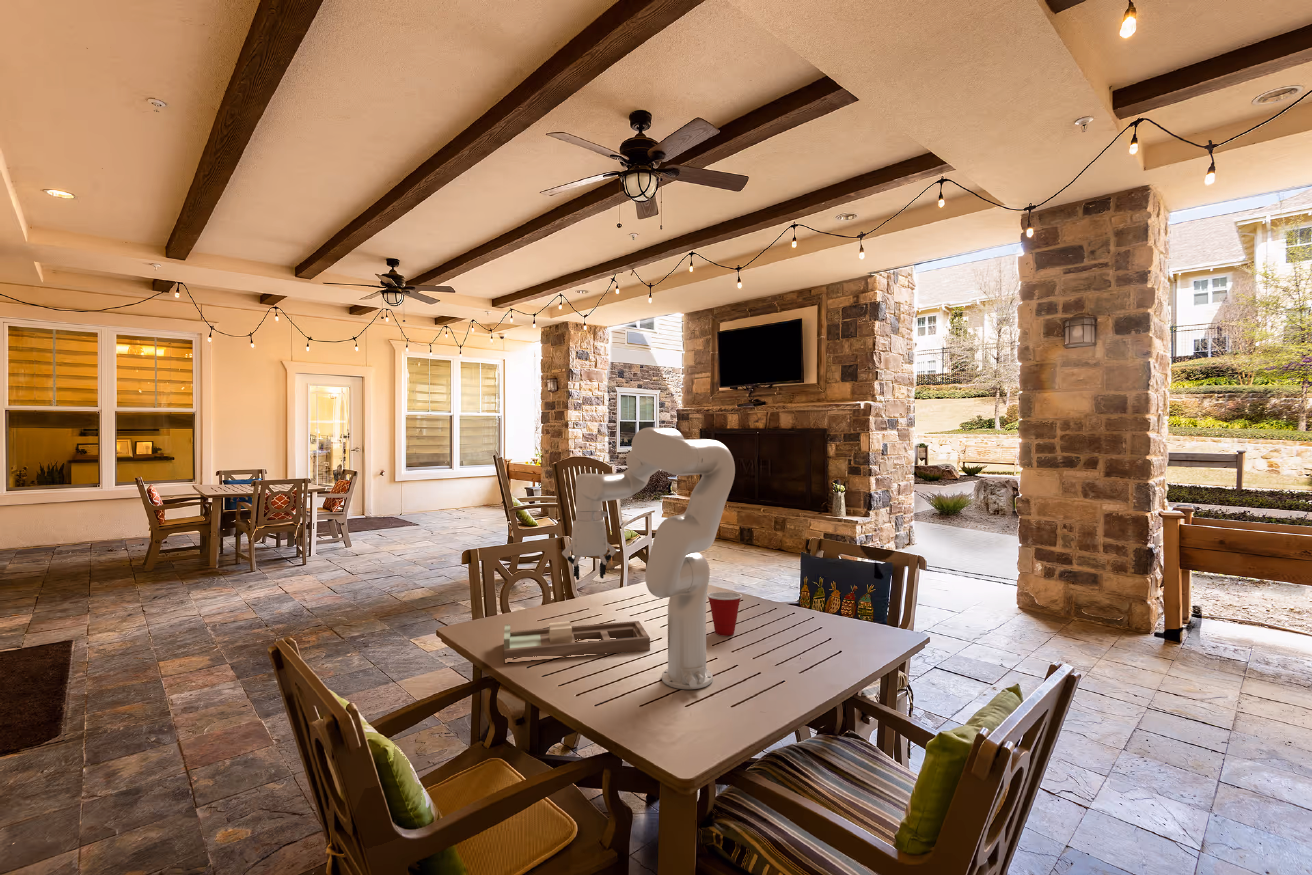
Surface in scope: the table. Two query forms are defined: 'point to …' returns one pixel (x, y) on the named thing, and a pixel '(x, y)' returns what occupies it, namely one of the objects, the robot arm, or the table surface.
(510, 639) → the tray
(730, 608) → the plastic cup
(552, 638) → the maple block
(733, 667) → the table surface
